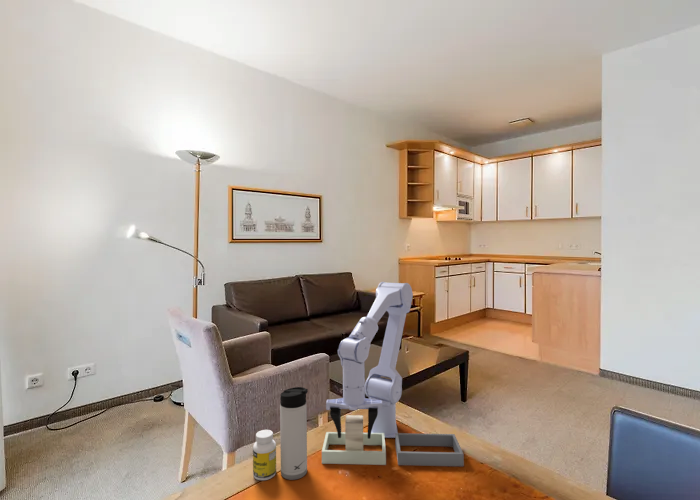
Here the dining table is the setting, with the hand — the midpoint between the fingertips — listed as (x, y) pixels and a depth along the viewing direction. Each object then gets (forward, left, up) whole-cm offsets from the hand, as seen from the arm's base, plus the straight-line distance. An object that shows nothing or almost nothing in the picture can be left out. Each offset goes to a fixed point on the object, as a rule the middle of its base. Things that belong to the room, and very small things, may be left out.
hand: (354, 436), depth 97 cm
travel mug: (+9, -14, -5) cm, 17 cm away
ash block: (0, 0, -4) cm, 5 cm away
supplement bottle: (+10, -21, -5) cm, 24 cm away
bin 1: (0, 0, -4) cm, 4 cm away
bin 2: (0, +19, -4) cm, 20 cm away
